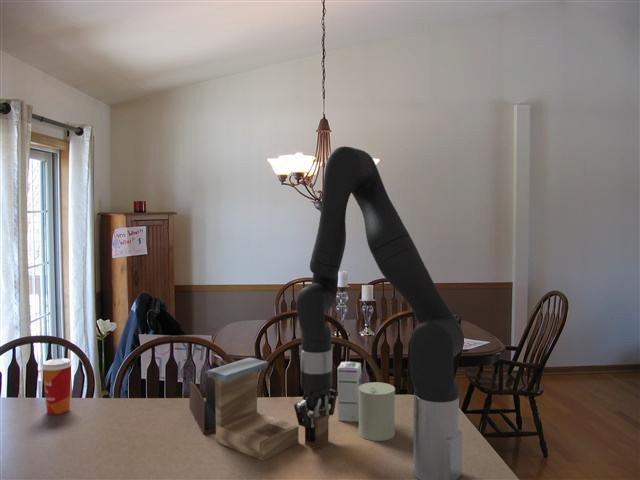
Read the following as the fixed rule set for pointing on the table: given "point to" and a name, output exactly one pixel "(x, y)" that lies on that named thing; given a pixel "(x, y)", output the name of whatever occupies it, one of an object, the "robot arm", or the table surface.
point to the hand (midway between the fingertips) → (316, 437)
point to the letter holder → (205, 404)
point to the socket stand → (247, 412)
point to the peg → (320, 431)
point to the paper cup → (57, 385)
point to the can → (376, 411)
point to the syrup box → (348, 391)
